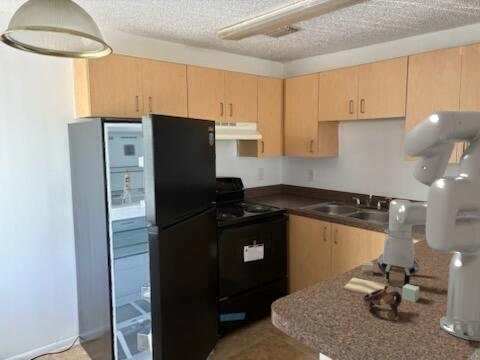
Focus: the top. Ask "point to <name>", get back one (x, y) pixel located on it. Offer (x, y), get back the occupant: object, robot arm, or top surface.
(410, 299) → the sage block
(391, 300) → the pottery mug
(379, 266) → the tin
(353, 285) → the plate
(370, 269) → the maple block
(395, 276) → the walnut block
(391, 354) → the top surface
